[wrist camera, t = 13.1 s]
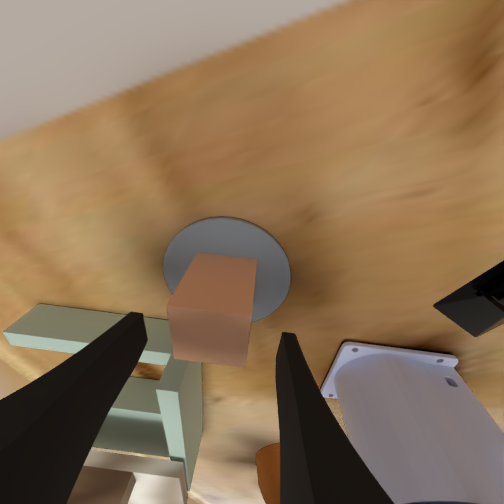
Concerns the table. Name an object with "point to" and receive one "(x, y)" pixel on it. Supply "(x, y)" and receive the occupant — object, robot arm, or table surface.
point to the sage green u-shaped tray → (130, 383)
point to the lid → (129, 480)
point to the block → (213, 310)
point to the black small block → (477, 302)
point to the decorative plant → (269, 473)
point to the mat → (236, 245)
